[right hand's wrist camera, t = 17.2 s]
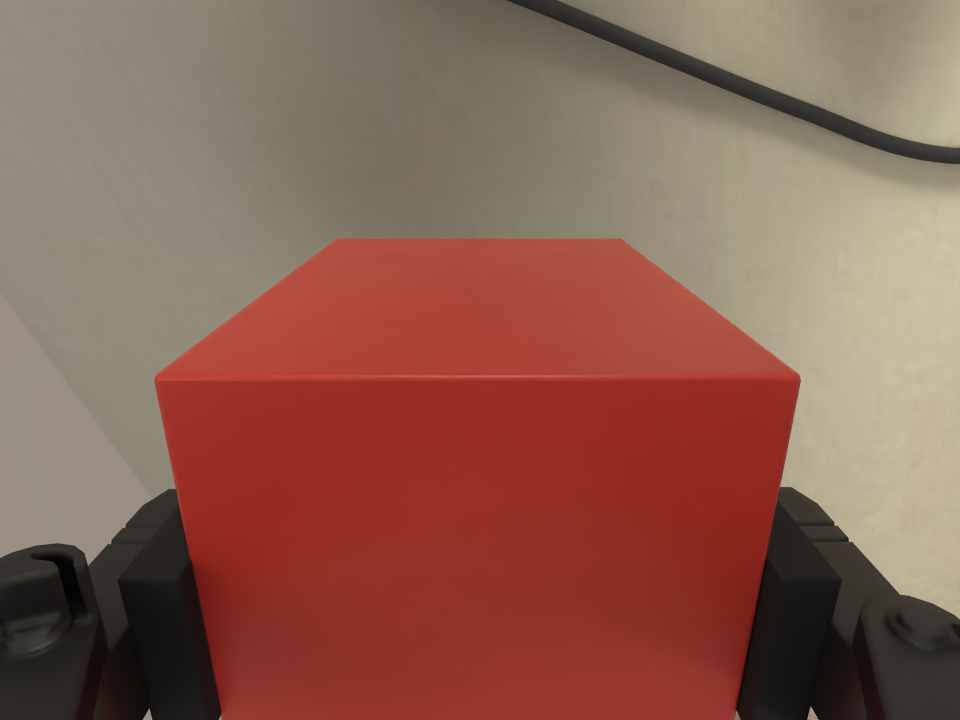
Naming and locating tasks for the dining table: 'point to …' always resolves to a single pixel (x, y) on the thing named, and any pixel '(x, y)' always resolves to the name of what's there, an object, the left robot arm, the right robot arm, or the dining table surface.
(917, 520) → the dining table surface
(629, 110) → the dining table surface
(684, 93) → the dining table surface
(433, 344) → the red block
